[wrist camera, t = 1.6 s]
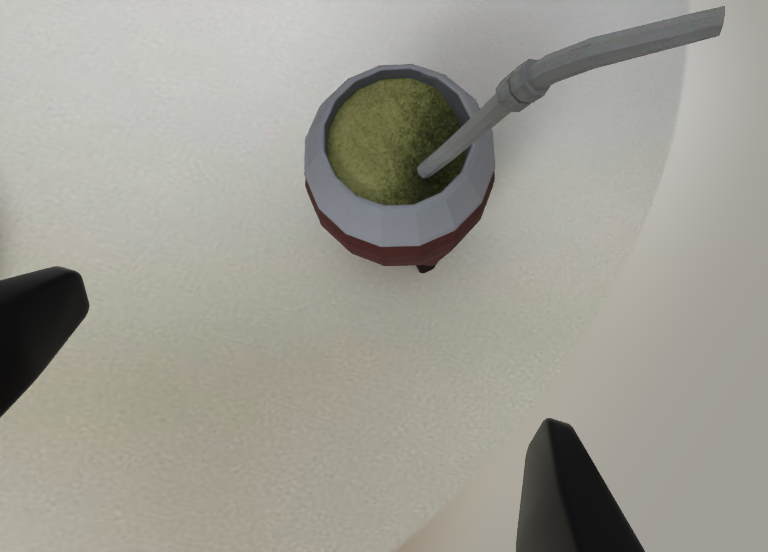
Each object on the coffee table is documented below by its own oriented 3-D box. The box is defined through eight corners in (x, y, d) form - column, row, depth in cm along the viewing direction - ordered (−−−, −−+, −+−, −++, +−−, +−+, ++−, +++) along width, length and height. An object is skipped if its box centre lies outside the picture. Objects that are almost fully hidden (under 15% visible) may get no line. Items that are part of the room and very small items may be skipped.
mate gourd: (309, 181, 23) (134, -135, 8) (452, 119, 23) (526, -295, 9) (367, 317, 22) (278, 221, 7) (520, 250, 22) (743, 21, 7)
